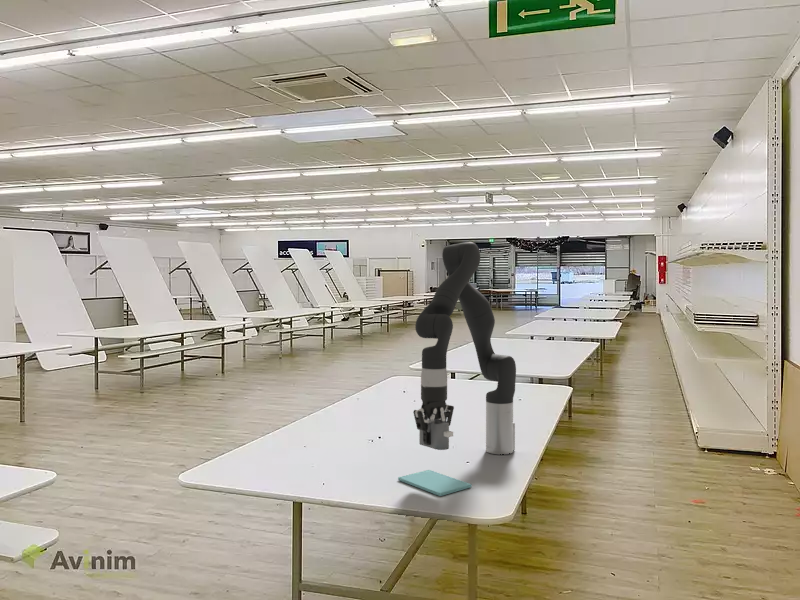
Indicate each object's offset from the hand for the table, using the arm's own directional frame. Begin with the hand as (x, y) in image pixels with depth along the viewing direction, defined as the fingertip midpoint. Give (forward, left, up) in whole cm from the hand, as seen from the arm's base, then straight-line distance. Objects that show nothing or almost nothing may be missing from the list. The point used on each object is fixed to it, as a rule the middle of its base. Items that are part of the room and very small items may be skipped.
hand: (433, 442), depth 177 cm
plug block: (0, 0, -1) cm, 1 cm away
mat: (0, 0, -12) cm, 12 cm away
